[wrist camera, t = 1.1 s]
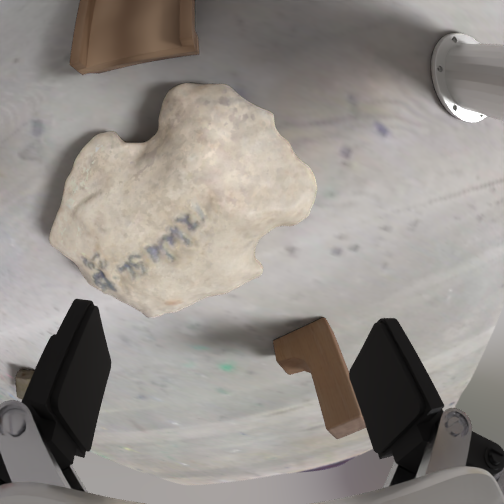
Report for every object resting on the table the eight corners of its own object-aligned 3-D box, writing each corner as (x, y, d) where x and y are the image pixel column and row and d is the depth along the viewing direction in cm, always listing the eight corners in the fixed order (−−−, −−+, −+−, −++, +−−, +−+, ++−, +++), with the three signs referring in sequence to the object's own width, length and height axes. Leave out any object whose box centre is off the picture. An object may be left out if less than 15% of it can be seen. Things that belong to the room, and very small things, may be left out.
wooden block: (283, 355, 49) (304, 451, 33) (271, 340, 47) (290, 443, 31) (333, 332, 47) (369, 427, 32) (324, 315, 45) (362, 415, 30)
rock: (335, 201, 37) (164, 325, 44) (202, 37, 25) (36, 217, 33) (359, 230, 30) (159, 364, 38) (198, 25, 19) (8, 246, 27)
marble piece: (70, 415, 58) (66, 428, 54) (19, 388, 53) (14, 401, 49) (81, 388, 52) (76, 404, 48) (21, 356, 47) (13, 370, 43)
